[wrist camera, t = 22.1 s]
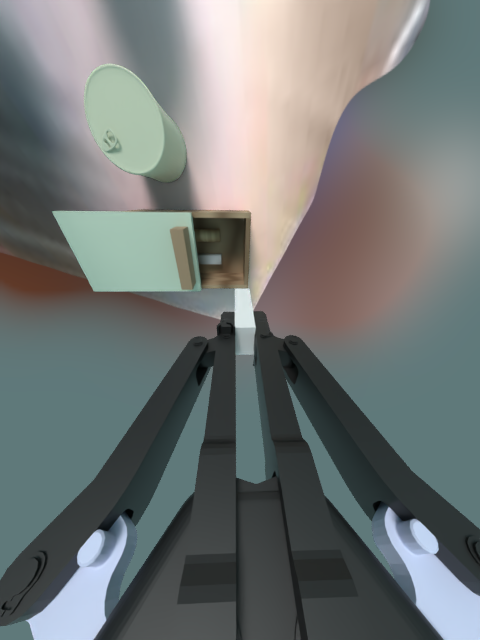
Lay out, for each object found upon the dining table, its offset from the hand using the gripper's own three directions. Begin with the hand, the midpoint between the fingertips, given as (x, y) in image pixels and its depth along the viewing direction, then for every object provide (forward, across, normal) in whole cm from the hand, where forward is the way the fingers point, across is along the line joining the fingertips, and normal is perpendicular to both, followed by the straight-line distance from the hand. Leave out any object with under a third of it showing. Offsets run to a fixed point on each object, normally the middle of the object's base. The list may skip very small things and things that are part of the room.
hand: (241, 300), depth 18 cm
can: (+27, -14, +16) cm, 34 cm away
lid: (+18, -19, 0) cm, 26 cm away
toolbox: (+26, -9, 0) cm, 28 cm away
